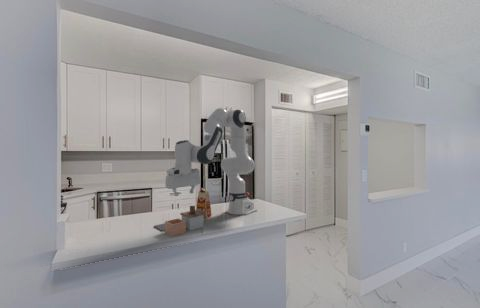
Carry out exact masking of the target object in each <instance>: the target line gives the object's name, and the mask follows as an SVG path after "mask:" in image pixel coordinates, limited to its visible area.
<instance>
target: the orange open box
mask: <svg viewBox="0 0 480 308" xmlns="http://www.w3.org/2000/svg"><path fill="white" fill-rule="evenodd" d="M164 223H165V231H164V234H167V235H169V236H170V237H174V236H175V237H176V236H178V235H182V234H185V233H187V229H186V222H185V221H183V220H182V218H175V219H170V220H165V221H164Z"/></svg>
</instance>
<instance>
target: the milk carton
mask: <svg viewBox="0 0 480 308" xmlns="http://www.w3.org/2000/svg"><path fill="white" fill-rule="evenodd" d="M197 195H198V196H197V198H196V199H197V200H196V206H195V210H196V211H199V212H202V213H205V215H203V221H209V220H210V219H211V218H212V216H213V215H212V214H213V213H212V207H211V199H210V193H209V192H208V190H206V188H204V187H201V189H200V190H199V191H198V194H197Z"/></svg>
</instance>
